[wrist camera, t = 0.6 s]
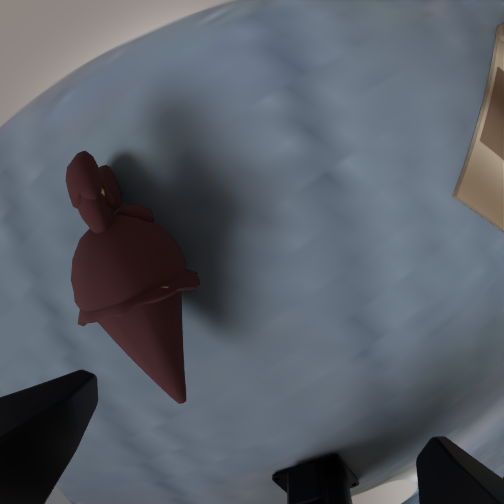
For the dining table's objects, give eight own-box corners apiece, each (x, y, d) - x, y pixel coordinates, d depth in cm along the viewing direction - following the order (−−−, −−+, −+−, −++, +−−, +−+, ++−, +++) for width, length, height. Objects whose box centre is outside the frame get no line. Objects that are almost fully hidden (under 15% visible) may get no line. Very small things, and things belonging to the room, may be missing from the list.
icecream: (248, 416, 15) (143, 115, 13) (119, 448, 14) (7, 177, 12) (233, 361, 21) (161, 149, 19) (137, 390, 21) (61, 189, 19)
